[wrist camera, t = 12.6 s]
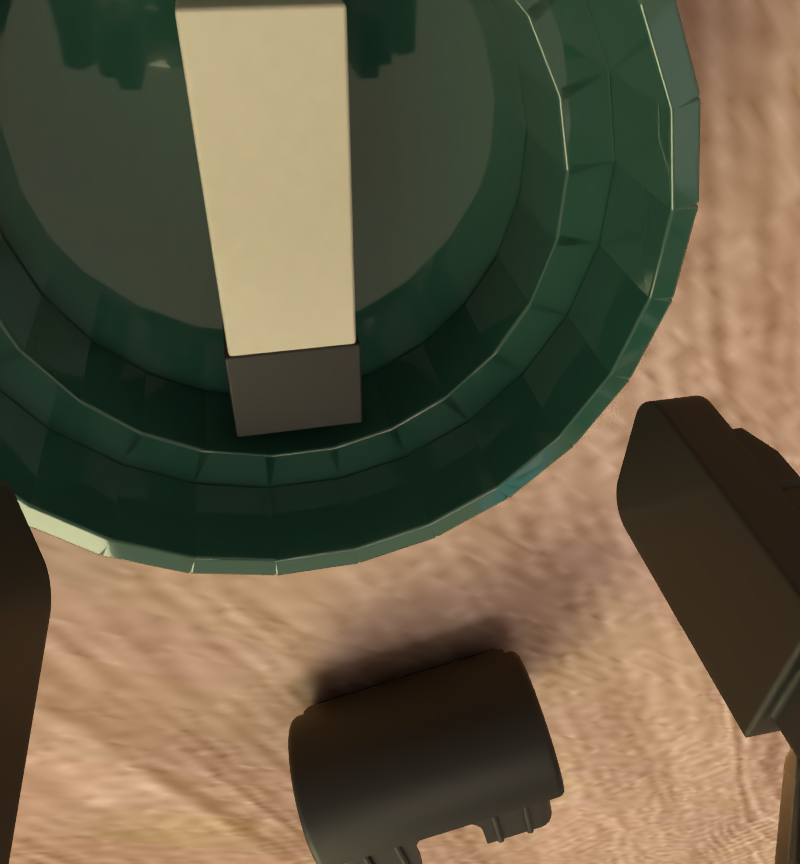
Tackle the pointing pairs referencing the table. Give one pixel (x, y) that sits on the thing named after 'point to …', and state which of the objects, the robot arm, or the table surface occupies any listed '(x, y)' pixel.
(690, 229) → the bowl
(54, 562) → the table surface
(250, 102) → the marker
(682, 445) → the robot arm
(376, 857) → the end cap
